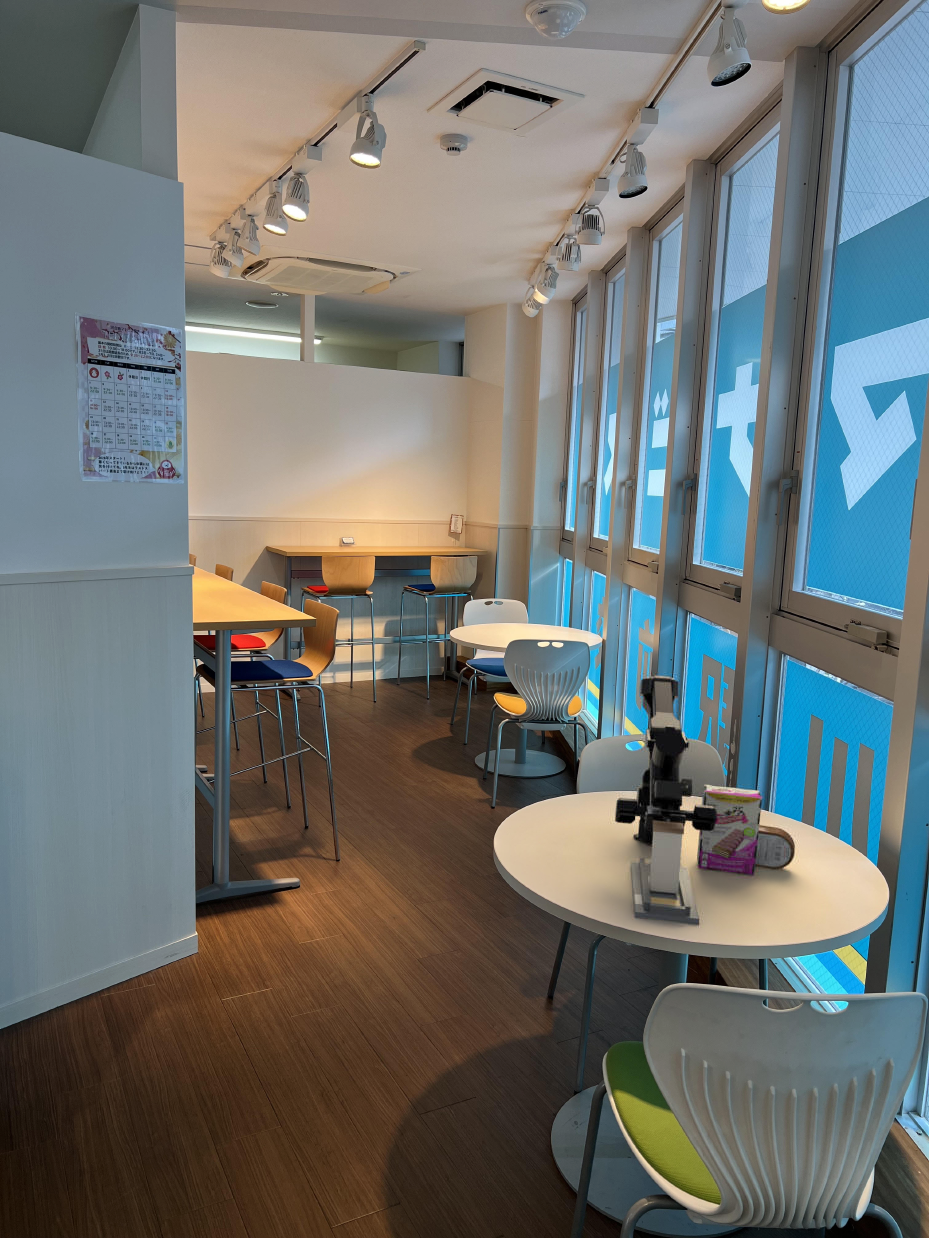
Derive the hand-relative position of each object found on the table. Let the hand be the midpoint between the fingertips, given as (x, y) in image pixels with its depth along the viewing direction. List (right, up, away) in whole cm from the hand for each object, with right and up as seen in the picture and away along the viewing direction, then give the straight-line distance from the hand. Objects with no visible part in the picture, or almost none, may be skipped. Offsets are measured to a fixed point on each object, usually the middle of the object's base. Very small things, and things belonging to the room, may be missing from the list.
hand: (665, 856), depth 160 cm
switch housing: (0, -7, +1) cm, 7 cm away
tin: (+22, -6, +16) cm, 28 cm away
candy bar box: (+15, -6, +14) cm, 22 cm away
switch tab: (0, -6, -1) cm, 6 cm away
